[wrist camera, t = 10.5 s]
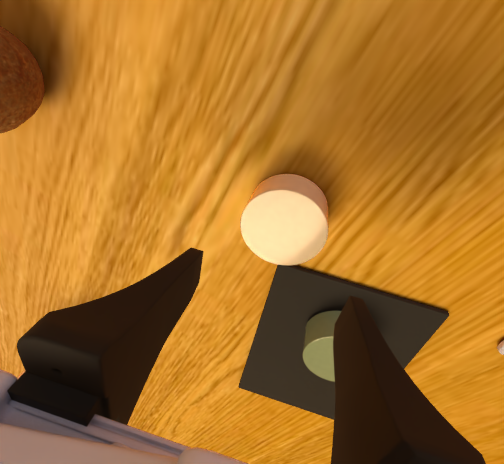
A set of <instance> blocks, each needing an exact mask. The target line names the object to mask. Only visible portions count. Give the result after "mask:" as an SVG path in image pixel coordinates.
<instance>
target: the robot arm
mask: <svg viewBox="0 0 504 464" xmlns="http://www.w3.org/2000/svg"><path fill="white" fill-rule="evenodd" d="M202 257H203V251H201V250H197V249H194V248H190V249H188V250H187V251H185V252H184V253H183V254H181V255H180V256H179V257H177V258H176V259H174V260H173V261H172V262H170V263H169V264H167V265H166V266H164V267H162V268H161V269H159V270H158V271H156V272H155V273H153V274H151V275H149V276H148V277H146V278H144V279H142V280H141V281H139V282H137V283H135V284H133V285H131V286H129V287H127V288H124V289H122V290H120V291H117V292H115V293H112V294H110V295H107V296H105V297H102V298H99V299H96V300H93V301H90V302H87V303H84V304H80V305H77V306H73V307H69V308H65V309H61V310H57V311H52V312H49V313H48V314H46V315H45V316H44V317H43V318H41V319H40V320H39V321H38V322H37V323H36V324H35V325H34V326H33V327H32V328H31V329H30V330H29V331H28V332H26V333H25V334H24V335H23V336H22V337H21V338H20V339H19V340H18V343H17V349H18V353H19V356H20V358H21V361H22V363H23V366H24V368H25V372H24V373H23V374H22V375H21V376H20V377H19V379H17V377H15V376H14V375H13V374H11V373H9V372H6V371H3V370H0V464H248V463H245V462H242V461H239V460H236V459H233V458H231V457H228V456H225V455H222V454H219V453H216V452H214V451H211V450H207V449H202V448H198V447H197V448H190V447H187V446H184V445H181V444H179V443H176V442H173V441H170V440H167V439H164V438H162V437H159V436H156V435H153V434H150V433H147V432H145V431H142V430H139V429H136V428H133V427H130V426H128V425H127V424H128V421H129V419H130V417H131V414H132V412H133V410H134V407H135V405H136V403H137V401H138V398H139V396H140V394H141V392H142V390H143V387H144V385H145V383H146V381H147V379H148V376H149V374H150V372H151V370H152V368H153V366H154V364H155V362H156V360H157V358H158V355H159V353H160V351H161V349H162V347H163V345H164V343H165V342H166V340H167V338H168V336H169V335H170V333H171V331H172V330H173V328H174V327H175V325H176V323H177V322H178V320H179V319H180V317H181V315H182V314H183V312H184V310H185V309H186V307H187V306H188V304H189V302H190V301H191V299H192V297H193V294H194V292H195V290H196V288H197V286H198V283H199V279H200V272H201V264H202ZM497 349H498V351H499V352H500V353H501V354H503V355H504V340H503V341H502V342H501V343H500V344H499V345H498V346H497ZM333 357H334V377H335V417H334V433H333V446H332V457H331V464H486V463H485V461H484V459H483V456H482V454H481V453H480V452H479V451H478V450H476V449H475V448H474V447H473V446H472V445H471V444H470V443H469V442H468V441H467V440H466V439H465V438H464V437H463V436H462V435H461V434H460V433H459V432H458V431H456V430H455V429H454V428H453V426H452V425H451V424H450V423H449V422H448V421H447V420H446V419H445V418H444V417H443V416H442V415H441V414H440V413H439V412H438V411H437V410H436V408H435V407H434V406H433V405H432V404H431V403H430V402H429V400H428V399H427V398H426V397H425V396H424V395H423V393H422V392H421V391H420V390H419V389H418V387H417V386H416V385H415V384H414V382H413V381H412V380H411V378H410V377H409V376H408V374H407V373H406V372H405V370H404V369H403V367H402V366H401V365H400V363H399V362H398V360H397V359H396V357H395V356H394V354H393V352H392V351H391V349H390V348H389V346H388V344H387V343H386V341H385V339H384V338H383V336H382V334H381V332H380V331H379V329H378V327H377V325H376V323H375V321H374V319H373V317H372V316H371V314H370V312H369V310H368V308H367V306H366V304H365V302H364V300H363V299H360V298H357V297H354V296H349V298H348V300H347V302H346V304H345V306H344V307H343V309H342V311H341V313H340V315H339V317H338V319H337V320H336V322H335V326H334V337H333Z"/></svg>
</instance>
